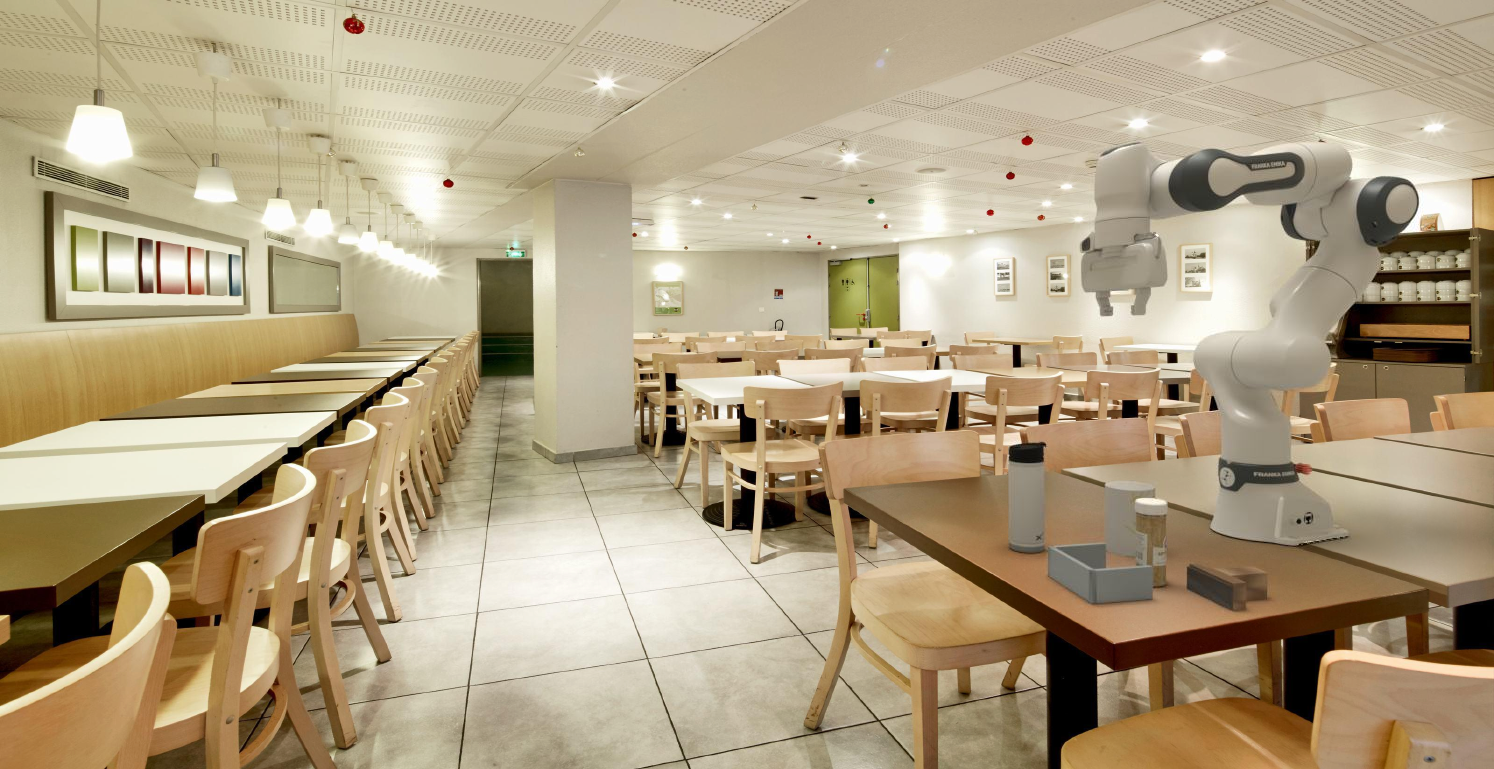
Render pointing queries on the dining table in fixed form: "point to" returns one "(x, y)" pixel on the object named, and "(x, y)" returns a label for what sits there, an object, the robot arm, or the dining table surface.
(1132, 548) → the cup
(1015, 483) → the travel mug
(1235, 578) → the scraper
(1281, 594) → the dining table surface
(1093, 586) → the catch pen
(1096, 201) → the robot arm
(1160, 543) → the sprinkles bottle
